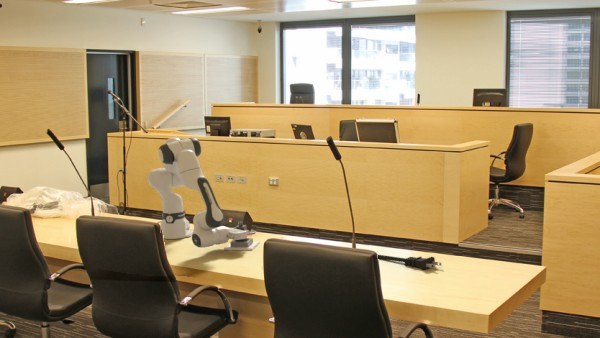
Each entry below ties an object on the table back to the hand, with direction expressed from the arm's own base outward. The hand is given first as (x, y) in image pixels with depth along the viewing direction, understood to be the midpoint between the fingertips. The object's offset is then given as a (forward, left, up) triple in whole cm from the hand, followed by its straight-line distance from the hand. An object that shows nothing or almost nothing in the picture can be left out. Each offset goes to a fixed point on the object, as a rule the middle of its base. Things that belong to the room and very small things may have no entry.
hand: (242, 230), depth 383 cm
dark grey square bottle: (+1, -1, -7) cm, 8 cm away
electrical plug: (+25, +83, -9) cm, 87 cm away
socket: (+1, -1, -8) cm, 9 cm away
